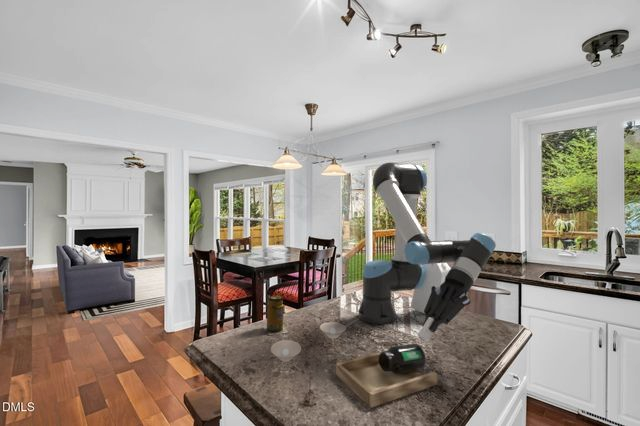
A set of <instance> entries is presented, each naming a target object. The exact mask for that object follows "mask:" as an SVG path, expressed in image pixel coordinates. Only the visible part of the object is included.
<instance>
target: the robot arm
mask: <svg viewBox="0 0 640 426" xmlns="http://www.w3.org/2000/svg"><path fill="white" fill-rule="evenodd" d="M427 182H428V177H427V173H426V170H425V169H424V168H423V167H422V166H420V165H418V164H413V163H404V162H403V163H399V162H385V163H382V164H381V165H379V166H378V168H377V169H375V171H374V173H373V176H372V188H373V189H374V192H375V193H376V195H377V197H378V198H381V199H382V201H383V203H384V204H385V205H384V206H386V207H385V208H386V209H387V210H388V212H389V214H390V216H391V218H392V220H393V221H394V223H395V235H394V238H395V239H394V240H395V241H394V245H395V246H394V255H393V256H391V260H389V259H388V260H385V259H377V260H371V261H368V262H366V263H365V264H364V265H363V271H362V300H361V301H360V302H361V303H360V306H359V308H358V312H357V315H358V319H359V320H360V321H362V322H364V323H368V324H373V325H387V324H392V323H394V322H395V320H396V312H395V308H394V306H393V302H392V292H393V293H394V292H401V291H402V292H403V291H412V290H413V291H414V289H417V288H419V287H420V286H421V285H422V284H423V282H424V279H425V271H424V269H423V266H422V265H424V264H432V263H447V264H450V263H454V264H453V265H452V266H451V269H450V271H449V272H448V274H447V275H446V277H445V282H444V283H443V284H441V285H440V287H437V288H435V286H432V288H431V294H430V297H429V300H428V302H427V305H426V307H425V310H424V313H423V314H425V315H426V318H425V320H424V321H423V322H422V324H421V329H420V330H419V332H418V333H417V337H418V338H419V339H420V341H422V342H424V343H427V342H428V340H429V339H430V337H431V335H432V334H433V333H435V332H436V331H437V329H438V328H439V326H440V325H442V324H444V325H448V324H449V323H450V322H451V321H452V320H453V319H454V318H455V317H456V316H457V315H459V313H460V312H461V311H462V310H463V309H464V308H465V307H466V306H468V305H470V304H471V300H470V299H469V297H468V296H467V294H468V292H469V291H470V289H471V288H472V287H473V285H474V282H475V281H477V279H478V277H479V275H480V273H481V272H482V271H483V268H484V267H485V266H486V265H487V263H488V261H489V260H490V258H491V256H492V255H493V253H494V251H495V248H496V245H497V244H496V242H495V240H494V239H493V238H492V237H491V236H489V235H488V234H485V233H483V232H482V233H481V232H476V233H474V234H473V235H472V236H471V237H470V239H468V240H466V239H465V240H450V239H448V240H430V237H429V236H428V234H427V233H426V231H425V230H424V228H423V227H422V225H421V223H420V221H419V220H418V219H417V218H418V217H417V208H418V207H417V206H418V204H417V203H418V198H420V197H421V194H422V193H421V192H422V191H424V190H425V188H426V187H427Z"/></svg>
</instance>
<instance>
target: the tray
mask: <svg viewBox="0 0 640 426" xmlns="http://www.w3.org/2000/svg"><path fill="white" fill-rule="evenodd" d="M386 351H387V350H384V351H380V352H376V353H372V354H369V355H364V356H359V357H356V358H353V359H349V360H345V361H341V362H337V363H336V364H335V368H336V369H335V375H336V376H337V378H338V379H339V380H341V382H342V383H344V384H345V385H346V386H347V387H348V388H349V389H350V390H352V392H353V393H354V394H355V395H357V397H359V398H360V399H361V400H362V402H364V403H365V404H366V405H367V406H369V405H370V406H369V407H370V408H376V407H378V406H381V405H384V404H386V402H387V403H389V402H392V401H394V400H397V399H400V398H403V397H406V396H409V395H411V394H414V393H418V392H420V391H424V390H427V389H429V388H432V387H435V386H437V385H438V372H436V371H431V372H428V373H426V374H423V373H421V372H419V370H416V371H411V372H406V373H401V374H395V373H393V372H392V371H391V372H384V371H383V370H382V369H381V367H380V364H379V355H380V353H382V352H386ZM383 403H384V404H383ZM380 404H381V405H380ZM377 405H378V406H377Z"/></svg>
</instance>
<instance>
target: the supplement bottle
mask: <svg viewBox="0 0 640 426" xmlns="http://www.w3.org/2000/svg"><path fill="white" fill-rule="evenodd" d="M385 351H386V352H383V351H381V352H382V353H380V355H379V364H380V367H381V369H382V370H383V371H384V372H391V371H392V372H393V373H395V374H401V373H406V372H411V371H420V370H422V369H424V367H425V366H426V363H427V361H426V360H427V358H426V354H425V351H424V349H423V348H422V347H421V345H418V343H409V344H401V345H394V346H390V347H389V348H388V349H387V350H385Z"/></svg>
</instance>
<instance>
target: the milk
mask: <svg viewBox="0 0 640 426" xmlns="http://www.w3.org/2000/svg"><path fill="white" fill-rule="evenodd" d="M422 266H423V269H424V271H425V279H424V282H423V284H422V285H421V286H420V287H419V288H417V289H413V295H412V299H411V302H410V303H411V304H410V307H409V308H410V309H413V310H415V311H417V312H420V313H422V314H425V313H424V310H425V307H426V305H427V302H428V300H429V297H430V294H431V288H432V286H435V288H437V287H440V285H441V284H443V283H444V282H445V277H446V275H447V274H448V272H449V271H450V269H452V267H450V265H449V263H432V264H424V265H422Z"/></svg>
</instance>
